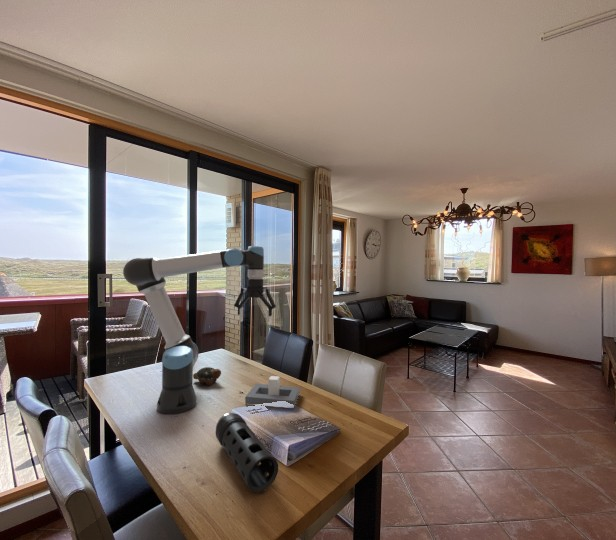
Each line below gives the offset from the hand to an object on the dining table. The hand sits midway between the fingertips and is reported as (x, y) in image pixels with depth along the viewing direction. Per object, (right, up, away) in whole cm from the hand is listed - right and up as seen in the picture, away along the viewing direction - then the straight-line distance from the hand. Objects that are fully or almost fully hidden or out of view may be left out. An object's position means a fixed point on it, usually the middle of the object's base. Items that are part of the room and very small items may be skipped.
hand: (254, 322), depth 144 cm
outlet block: (+11, -32, -12) cm, 36 cm away
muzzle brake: (+6, -33, -55) cm, 65 cm away
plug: (+11, -32, -12) cm, 35 cm away
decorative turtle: (-25, -31, +4) cm, 40 cm away
